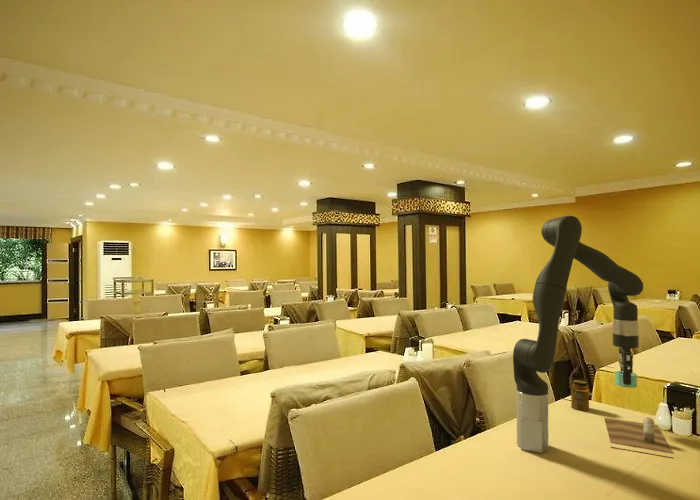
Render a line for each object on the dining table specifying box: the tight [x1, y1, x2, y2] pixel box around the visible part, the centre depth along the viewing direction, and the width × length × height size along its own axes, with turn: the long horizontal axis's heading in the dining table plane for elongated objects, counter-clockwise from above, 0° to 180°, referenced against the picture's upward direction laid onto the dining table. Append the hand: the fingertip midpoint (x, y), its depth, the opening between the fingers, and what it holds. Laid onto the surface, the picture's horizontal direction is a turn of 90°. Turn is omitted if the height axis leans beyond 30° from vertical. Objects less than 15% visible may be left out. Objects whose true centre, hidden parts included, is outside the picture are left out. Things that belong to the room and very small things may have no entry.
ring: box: [614, 370, 638, 389], centre depth 146 cm, size 6×6×4 cm
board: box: [603, 417, 674, 460], centre depth 140 cm, size 24×16×9 cm, turn 153°
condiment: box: [570, 379, 590, 412], centre depth 163 cm, size 7×8×12 cm
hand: (625, 381), depth 146 cm, fingers closed on ring, 6 cm apart
